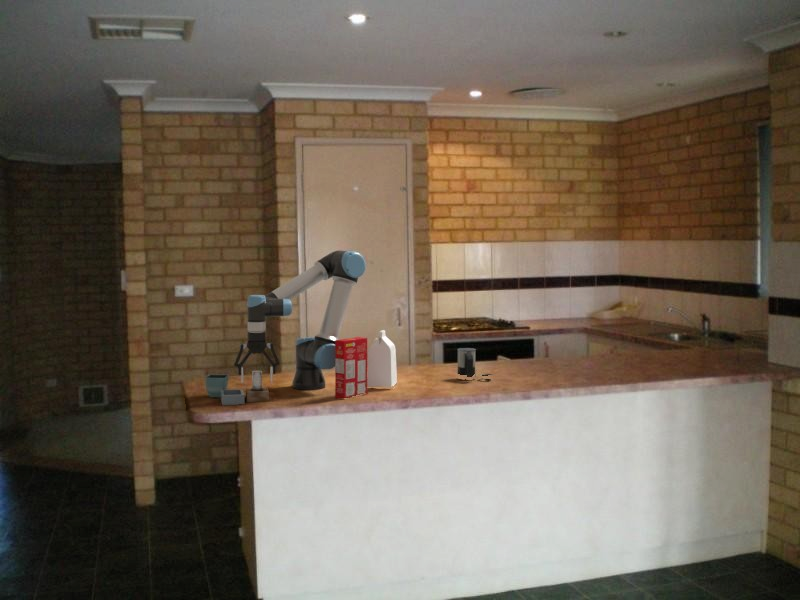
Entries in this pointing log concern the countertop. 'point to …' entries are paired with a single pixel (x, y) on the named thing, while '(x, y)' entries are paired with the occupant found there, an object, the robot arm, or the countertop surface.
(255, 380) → the steel pin
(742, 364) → the countertop surface
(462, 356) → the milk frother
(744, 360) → the countertop surface
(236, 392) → the tray
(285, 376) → the countertop surface
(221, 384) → the flower pot
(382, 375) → the milk
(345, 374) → the food packaging
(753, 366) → the countertop surface
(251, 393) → the socket block
